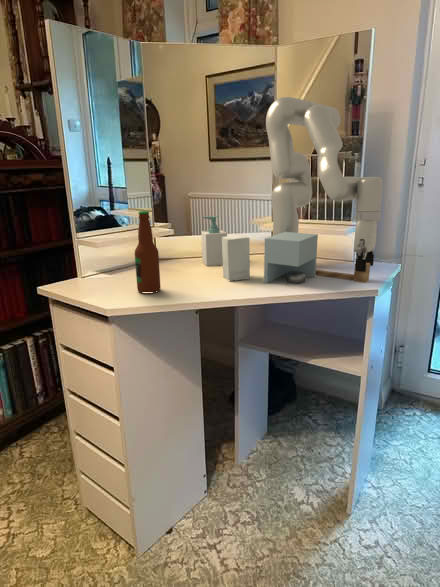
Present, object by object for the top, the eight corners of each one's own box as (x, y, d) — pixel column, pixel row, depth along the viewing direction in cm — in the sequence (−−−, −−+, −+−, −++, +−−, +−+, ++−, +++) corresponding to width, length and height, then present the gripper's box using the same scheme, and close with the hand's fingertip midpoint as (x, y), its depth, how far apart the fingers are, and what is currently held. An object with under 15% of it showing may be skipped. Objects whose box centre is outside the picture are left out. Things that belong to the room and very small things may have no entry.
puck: (284, 282, 137) (284, 274, 136) (291, 278, 142) (291, 270, 141) (300, 285, 134) (301, 276, 133) (307, 281, 138) (308, 272, 137)
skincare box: (243, 275, 146) (243, 234, 142) (250, 279, 141) (250, 236, 137) (221, 277, 144) (221, 235, 139) (228, 282, 138) (227, 238, 134)
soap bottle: (201, 261, 169) (200, 215, 163) (222, 260, 171) (221, 214, 165) (206, 266, 161) (204, 217, 155) (227, 264, 163) (227, 216, 157)
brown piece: (311, 275, 145) (311, 259, 143) (315, 273, 148) (316, 257, 146) (365, 282, 135) (367, 265, 133) (368, 280, 138) (370, 262, 136)
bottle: (147, 286, 134) (142, 209, 127) (165, 289, 130) (160, 210, 123) (132, 292, 128) (126, 212, 121) (150, 295, 124) (145, 213, 117)
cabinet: (264, 282, 136) (264, 238, 132) (284, 272, 149) (285, 231, 145) (297, 287, 130) (299, 241, 126) (315, 276, 143) (317, 234, 138)
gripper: (362, 213, 140) (360, 262, 144) (348, 218, 126) (345, 272, 131) (385, 214, 136) (382, 264, 140) (373, 219, 122) (369, 274, 127)
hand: (364, 268), depth 136 cm, fingers open, 9 cm apart
